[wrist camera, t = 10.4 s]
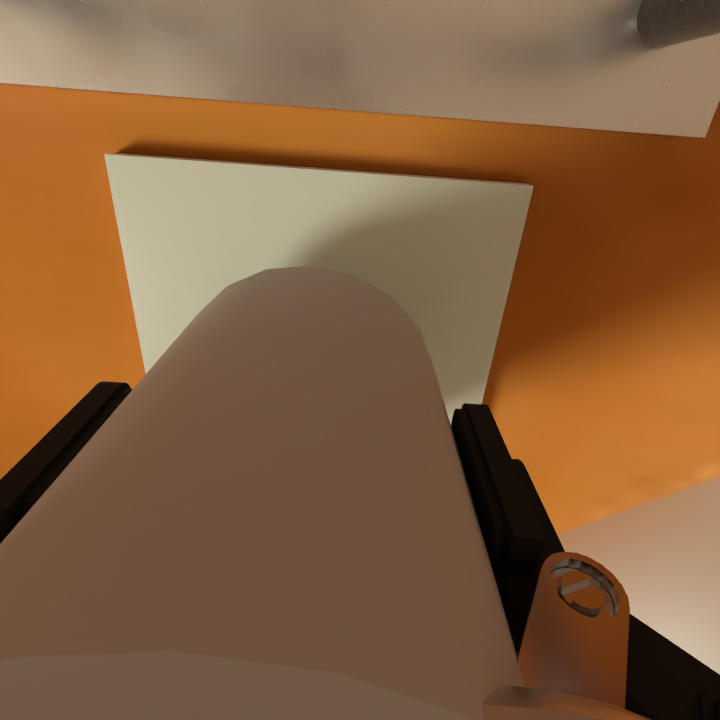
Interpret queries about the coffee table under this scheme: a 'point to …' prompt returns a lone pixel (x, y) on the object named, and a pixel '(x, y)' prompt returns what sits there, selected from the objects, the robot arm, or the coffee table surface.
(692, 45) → the plate with bar handle
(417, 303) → the pad
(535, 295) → the coffee table surface
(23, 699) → the can
